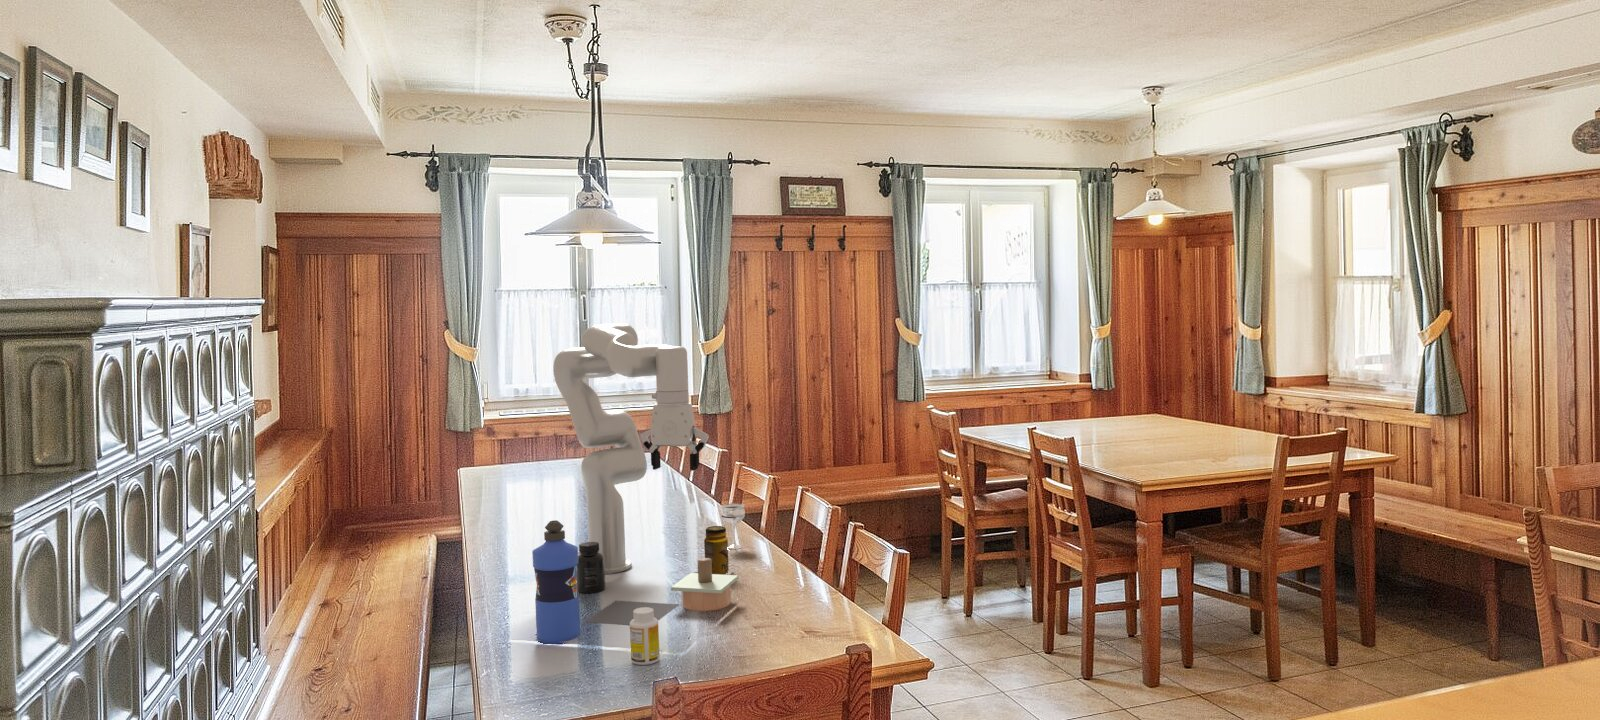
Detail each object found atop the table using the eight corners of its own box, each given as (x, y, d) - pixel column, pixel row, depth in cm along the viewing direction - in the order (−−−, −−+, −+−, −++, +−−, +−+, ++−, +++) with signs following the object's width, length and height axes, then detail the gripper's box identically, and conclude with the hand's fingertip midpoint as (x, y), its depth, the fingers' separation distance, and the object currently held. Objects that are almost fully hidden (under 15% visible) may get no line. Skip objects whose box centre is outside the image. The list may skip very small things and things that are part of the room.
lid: (671, 590, 232) (670, 565, 232) (690, 576, 243) (690, 552, 243) (720, 593, 229) (719, 567, 228) (738, 578, 240) (737, 554, 240)
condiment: (735, 574, 263) (733, 528, 262) (705, 580, 258) (704, 533, 257) (721, 568, 269) (719, 523, 268) (692, 573, 264) (690, 528, 263)
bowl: (675, 611, 233) (674, 590, 232) (693, 597, 243) (692, 576, 243) (720, 614, 230) (719, 592, 229) (736, 600, 240) (736, 579, 240)
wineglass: (745, 550, 287) (743, 508, 286) (721, 550, 287) (719, 508, 286) (746, 544, 294) (745, 503, 293) (723, 544, 294) (722, 503, 293)
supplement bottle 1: (610, 589, 252) (608, 541, 251) (596, 597, 246) (594, 547, 245) (586, 587, 254) (584, 539, 253) (571, 595, 248) (569, 546, 247)
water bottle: (584, 629, 222) (580, 515, 220) (577, 644, 212) (572, 525, 211) (541, 631, 221) (536, 517, 220) (531, 646, 212) (526, 527, 210)
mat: (583, 624, 225) (583, 621, 225) (615, 602, 240) (615, 600, 240) (650, 629, 221) (650, 626, 221) (679, 606, 236) (678, 604, 236)
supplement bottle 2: (659, 655, 205) (657, 604, 204) (660, 664, 199) (658, 613, 199) (630, 657, 204) (628, 607, 203) (631, 667, 198) (629, 615, 198)
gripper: (632, 399, 242) (635, 471, 244) (701, 399, 238) (703, 472, 239) (646, 396, 250) (648, 465, 251) (712, 396, 245) (714, 467, 246)
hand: (675, 469), depth 245 cm, fingers open, 9 cm apart
